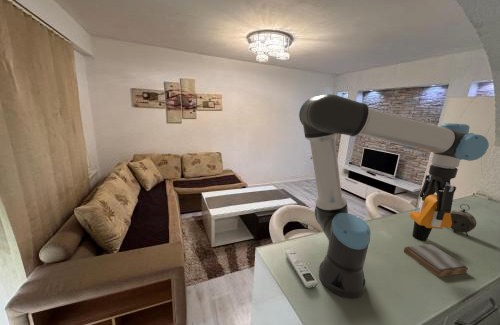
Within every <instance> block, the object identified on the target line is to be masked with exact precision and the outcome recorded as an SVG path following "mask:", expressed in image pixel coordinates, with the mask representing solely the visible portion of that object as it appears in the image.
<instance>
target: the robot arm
mask: <svg viewBox="0 0 500 325" xmlns="http://www.w3.org/2000/svg"><path fill="white" fill-rule="evenodd" d="M298 117H299V121H300V123H301V125H302V126H303V127H302V128H303V133H304V138H305V139H306V140H308V141H309V144H310V149H311V156H312V163H313V170H314V175H315V184H316V189H317V195H318V198H317V199H315V206H314V217H315V220H316V222H317V223H318V225H319V226H320V228H321V230H322V231H323V232H324V235H325V237H326V239H327V240H328V245H327V253H326V255H325V257H323V258H324V259H323V261H322V262H320V264H319V268H318V277H319V280H320V281H321V283H322V285H323V286H324V287H325V288H326V289H328V290H329V291H330V292H332V293H334V294H335V295H337V296H340V297H343V298H346V299H356V298H359V297H361V296H362V295H363V294H364V292H365V288H366V278H365V273H364V264H365V261H366V256H367V253H368V252H367V251H368V248H369V244H370V242H371V228H370V226H369V224H368V223H367V222H366V221H365V219H363V218H361V217H357V215H355V214H352V213H350V212H349V210H348V202H347V199H346V198H345V197H343V196H342V188H341V187H342V186H341V179H340V171H339V163H338V155H337V154H338V153H337V152H338V151H337V145H336V139H335V138H336V137H337V135H345V136H350V137H353V138H354V137H357V136H359V135H360V136H365V137H367V138H373V139H377V140H380V141H385V142H389V143H393V144H398V145H402V146H403V147H404V148H406V149H408V150H414V151H416V150H420V151H426V152H429V153H432V158H431V160H430V163H431V164H430V166H429V170H428V175H425V177H424V182H423V186H422V187H421V190H420V193H419V197H421V205H420V209H419V211H418V212H419V213H421V212H422V211H423V210H424V208H425V207H426V205H425V203H424V200H425V198H426V197H427V196H429V195H435V194H436V195H437V200H438V202H437V210H435V209H434V210H435V211H434V214H433V218H432V221H431V226H434V227H440V226H441V222H442V220H443V217H444V214H445V213H451V211H452V205H453V201H454V195H455V192H456V190H457V187H456V186H455V185H454V186H453V185H452V184H451V180H453V179H455V178H456V177H457V173H458V170H459V169H458V167H459V166H460V163H461V160H464V161H469V162H470V161H476V160H478V159H480V158H481V159H482V157H483V156H485V154H486V153H487V151H488V150H489V146H490V143H489V140H488V139H487V137H486V136H484V135H481V134H476V133H473V132H470V126H469V124H466V123H454V122H453V123H452V122H451V123H450V122H448V123H447V122H444V123H442V124H440V126H439V125H435V124H430V123H426V122H422V121H419V120H414V119H411V118H407V117H403V116H398V115H395V114H391V113H387V112H382V111H379V110H375V109H371V108H370V107H369V105H368V104H366V103H363V102H359V101H355V100H352V99H349V98H347V97H344V96H340V95H337V94H331V93H327V94H322V95H317V96H312V97H310V98H308V99H307V100H306V101H304V102H303V103H302V105H301V107H300V109H299V113H298ZM440 208H441V209H440Z"/></svg>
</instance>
